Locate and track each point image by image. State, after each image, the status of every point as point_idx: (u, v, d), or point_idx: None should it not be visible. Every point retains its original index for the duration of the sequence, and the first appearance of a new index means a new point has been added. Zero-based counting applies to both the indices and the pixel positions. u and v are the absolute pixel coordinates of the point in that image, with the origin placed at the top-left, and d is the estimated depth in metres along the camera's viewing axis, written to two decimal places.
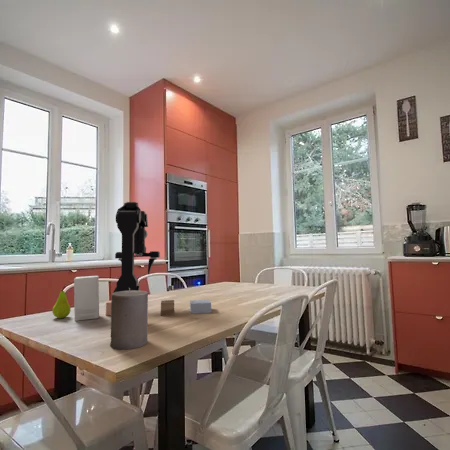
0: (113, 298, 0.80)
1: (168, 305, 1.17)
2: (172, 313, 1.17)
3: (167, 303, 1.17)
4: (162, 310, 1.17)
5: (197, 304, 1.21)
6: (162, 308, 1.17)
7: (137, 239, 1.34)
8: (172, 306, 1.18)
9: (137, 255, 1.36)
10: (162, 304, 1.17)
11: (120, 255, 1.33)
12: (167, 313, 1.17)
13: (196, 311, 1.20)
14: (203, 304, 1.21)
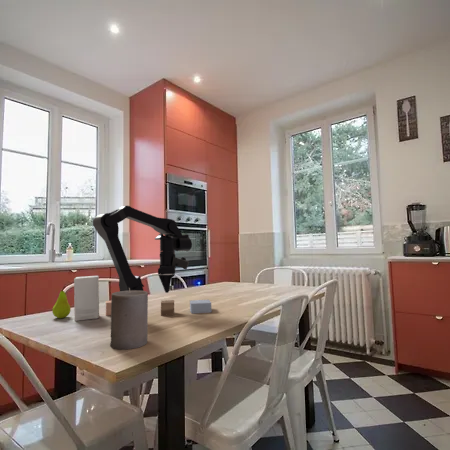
0: (113, 298, 0.80)
1: (168, 305, 1.17)
2: (172, 313, 1.17)
3: (167, 303, 1.17)
4: (162, 310, 1.17)
5: (197, 304, 1.21)
6: (162, 308, 1.17)
7: (160, 251, 1.21)
8: (172, 306, 1.18)
9: None
10: (162, 304, 1.17)
11: None
12: (167, 313, 1.17)
13: (196, 311, 1.20)
14: (203, 304, 1.21)
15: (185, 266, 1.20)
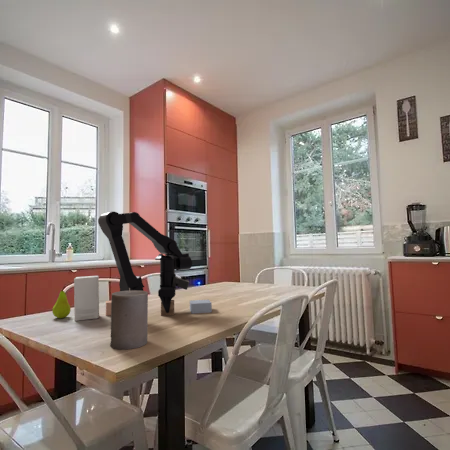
0: (113, 298, 0.80)
1: None
2: (172, 313, 1.17)
3: None
4: (162, 310, 1.17)
5: (197, 304, 1.21)
6: (162, 308, 1.17)
7: (160, 271, 1.20)
8: (172, 306, 1.18)
9: None
10: (162, 304, 1.17)
11: None
12: (167, 313, 1.17)
13: (196, 311, 1.20)
14: (203, 304, 1.21)
15: (185, 286, 1.19)
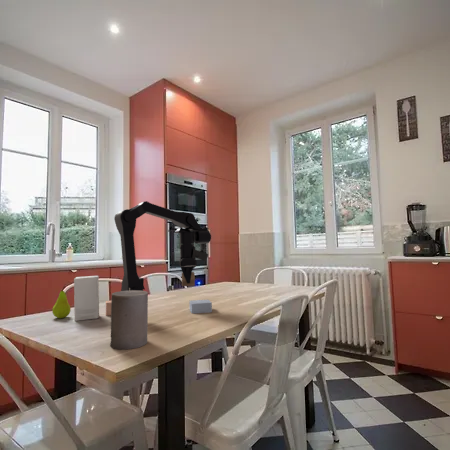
0: (113, 298, 0.80)
1: None
2: (193, 283, 1.22)
3: None
4: (183, 280, 1.21)
5: (198, 304, 1.21)
6: (183, 279, 1.21)
7: None
8: (193, 277, 1.22)
9: None
10: (183, 275, 1.21)
11: None
12: (188, 283, 1.21)
13: (197, 311, 1.20)
14: (204, 304, 1.21)
15: (205, 258, 1.23)
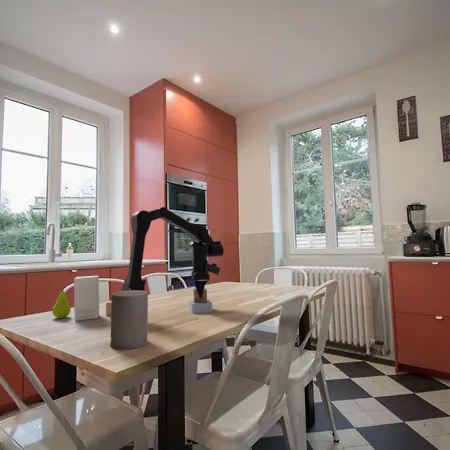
0: (113, 298, 0.80)
1: None
2: (205, 300, 1.23)
3: None
4: (195, 297, 1.22)
5: (198, 304, 1.21)
6: (195, 295, 1.22)
7: None
8: (205, 293, 1.23)
9: None
10: (195, 292, 1.22)
11: (191, 273, 1.32)
12: (200, 300, 1.22)
13: (197, 311, 1.20)
14: (204, 304, 1.21)
15: (217, 272, 1.24)
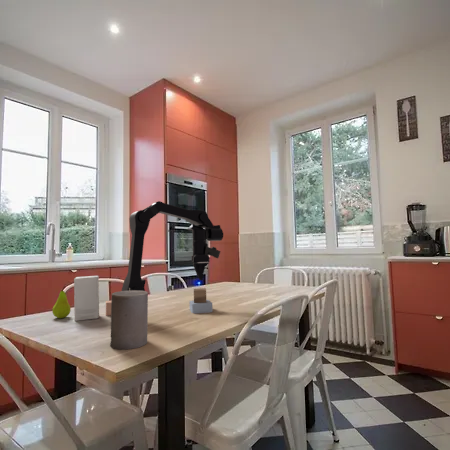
0: (113, 298, 0.80)
1: (200, 292, 1.23)
2: (204, 300, 1.23)
3: (199, 290, 1.23)
4: (195, 297, 1.22)
5: (198, 304, 1.21)
6: (195, 295, 1.22)
7: None
8: (205, 293, 1.23)
9: None
10: (195, 291, 1.23)
11: (191, 257, 1.33)
12: (200, 300, 1.22)
13: (197, 311, 1.20)
14: (204, 304, 1.21)
15: (217, 255, 1.25)
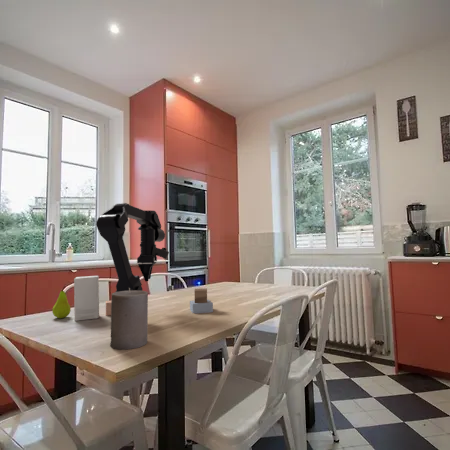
0: (113, 298, 0.80)
1: (201, 293, 1.22)
2: (205, 300, 1.22)
3: (200, 291, 1.22)
4: (196, 297, 1.22)
5: (199, 304, 1.21)
6: (196, 295, 1.22)
7: None
8: (205, 294, 1.23)
9: None
10: (196, 292, 1.22)
11: None
12: (200, 300, 1.22)
13: (198, 311, 1.20)
14: (205, 304, 1.21)
15: (165, 256, 1.23)
